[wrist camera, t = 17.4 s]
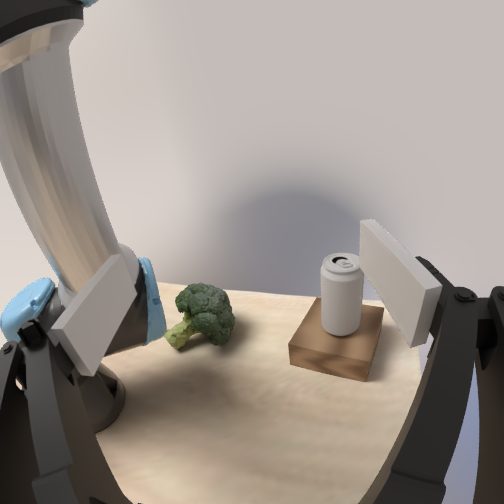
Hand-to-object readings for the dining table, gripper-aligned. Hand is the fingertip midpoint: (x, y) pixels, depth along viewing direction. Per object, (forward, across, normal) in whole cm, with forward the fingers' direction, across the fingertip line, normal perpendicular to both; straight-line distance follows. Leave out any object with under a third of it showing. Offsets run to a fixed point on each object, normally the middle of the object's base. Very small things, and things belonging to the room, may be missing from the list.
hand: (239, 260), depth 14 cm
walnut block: (+20, +12, -30) cm, 38 cm away
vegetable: (+27, -13, -30) cm, 42 cm away
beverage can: (+20, +12, -25) cm, 34 cm away
